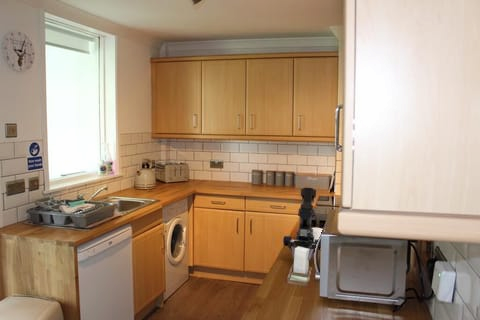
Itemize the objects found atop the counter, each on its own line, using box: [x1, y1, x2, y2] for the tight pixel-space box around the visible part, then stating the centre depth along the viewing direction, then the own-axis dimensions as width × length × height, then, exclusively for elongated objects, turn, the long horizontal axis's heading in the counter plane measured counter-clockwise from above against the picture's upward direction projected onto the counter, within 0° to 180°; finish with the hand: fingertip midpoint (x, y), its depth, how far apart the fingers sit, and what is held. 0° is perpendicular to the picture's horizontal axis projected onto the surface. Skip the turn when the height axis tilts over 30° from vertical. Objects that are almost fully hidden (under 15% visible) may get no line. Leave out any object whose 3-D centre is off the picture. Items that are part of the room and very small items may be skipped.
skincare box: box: [292, 245, 311, 274], centre depth 200 cm, size 6×4×12 cm
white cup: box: [311, 227, 324, 242], centre depth 236 cm, size 8×8×10 cm
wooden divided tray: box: [286, 264, 313, 287], centre depth 196 cm, size 18×10×2 cm, turn 166°
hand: (301, 259), depth 198 cm, fingers closed on skincare box, 7 cm apart
